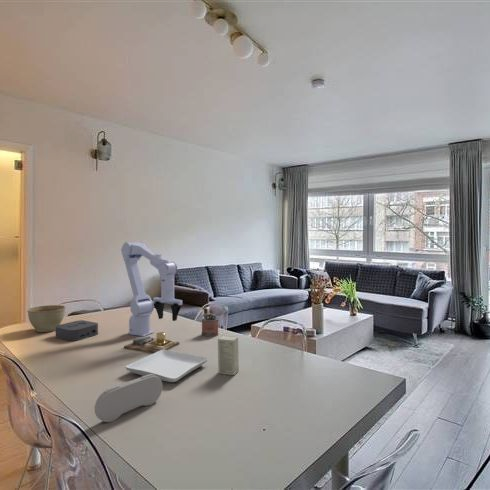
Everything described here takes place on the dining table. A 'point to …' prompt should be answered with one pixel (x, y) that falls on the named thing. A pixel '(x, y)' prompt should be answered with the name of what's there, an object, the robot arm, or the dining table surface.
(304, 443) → the dining table surface
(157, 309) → the robot arm
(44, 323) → the planter bowl
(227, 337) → the skincare box
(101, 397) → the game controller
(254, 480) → the dining table surface
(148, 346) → the gear board
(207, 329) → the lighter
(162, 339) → the brass gear
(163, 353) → the salad plate
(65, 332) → the streaming box
